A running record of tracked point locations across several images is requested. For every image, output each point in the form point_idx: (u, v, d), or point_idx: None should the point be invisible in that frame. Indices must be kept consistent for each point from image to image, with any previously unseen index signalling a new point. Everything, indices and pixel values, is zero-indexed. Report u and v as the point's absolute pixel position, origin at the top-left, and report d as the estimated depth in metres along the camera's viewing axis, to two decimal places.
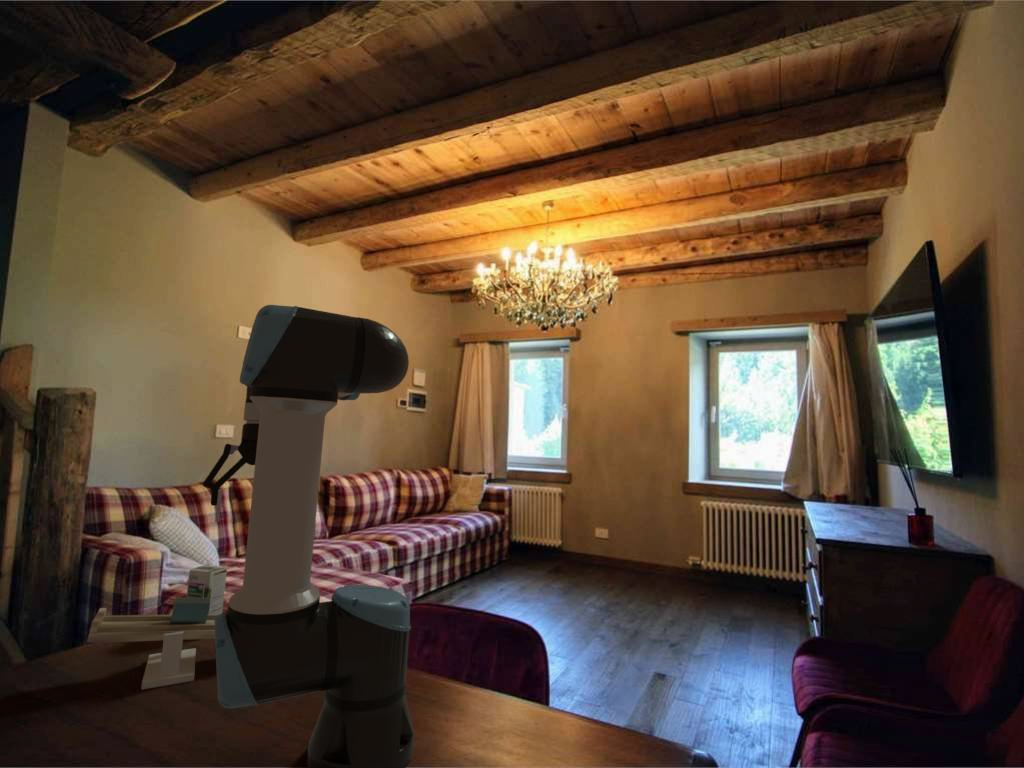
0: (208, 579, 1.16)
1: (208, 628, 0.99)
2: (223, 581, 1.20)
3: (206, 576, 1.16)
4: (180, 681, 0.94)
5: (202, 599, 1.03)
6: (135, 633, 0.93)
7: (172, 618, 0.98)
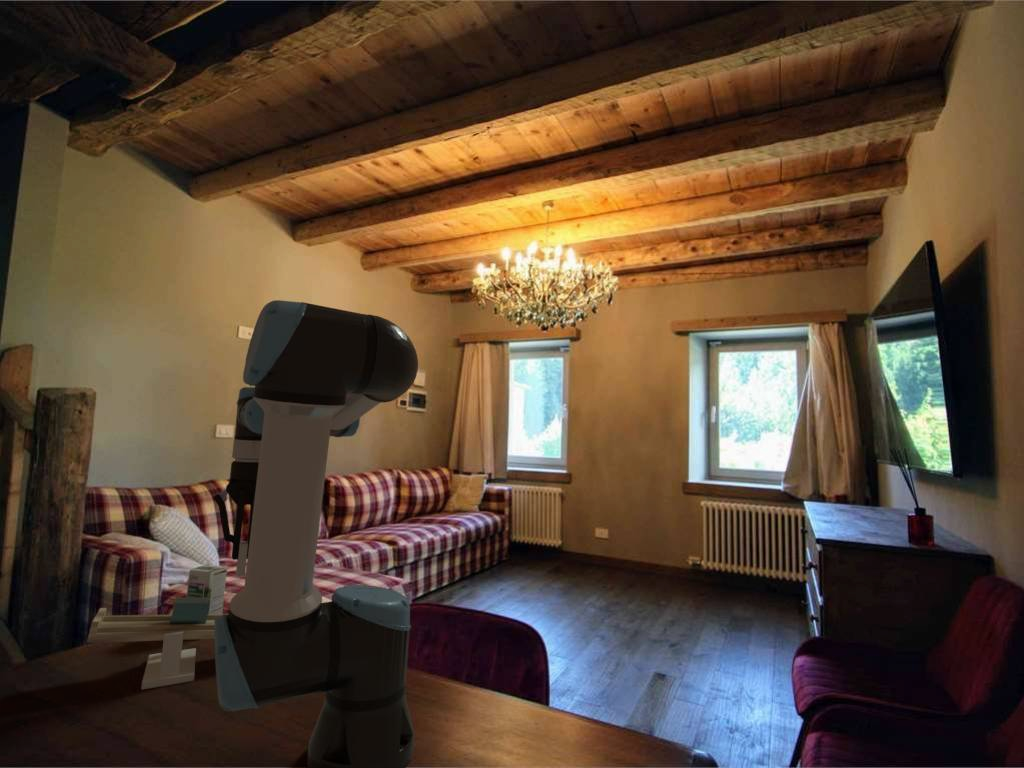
0: (208, 579, 1.16)
1: (208, 628, 0.99)
2: (223, 581, 1.20)
3: (206, 576, 1.16)
4: (180, 681, 0.94)
5: (202, 599, 1.03)
6: (135, 633, 0.93)
7: (172, 618, 0.98)
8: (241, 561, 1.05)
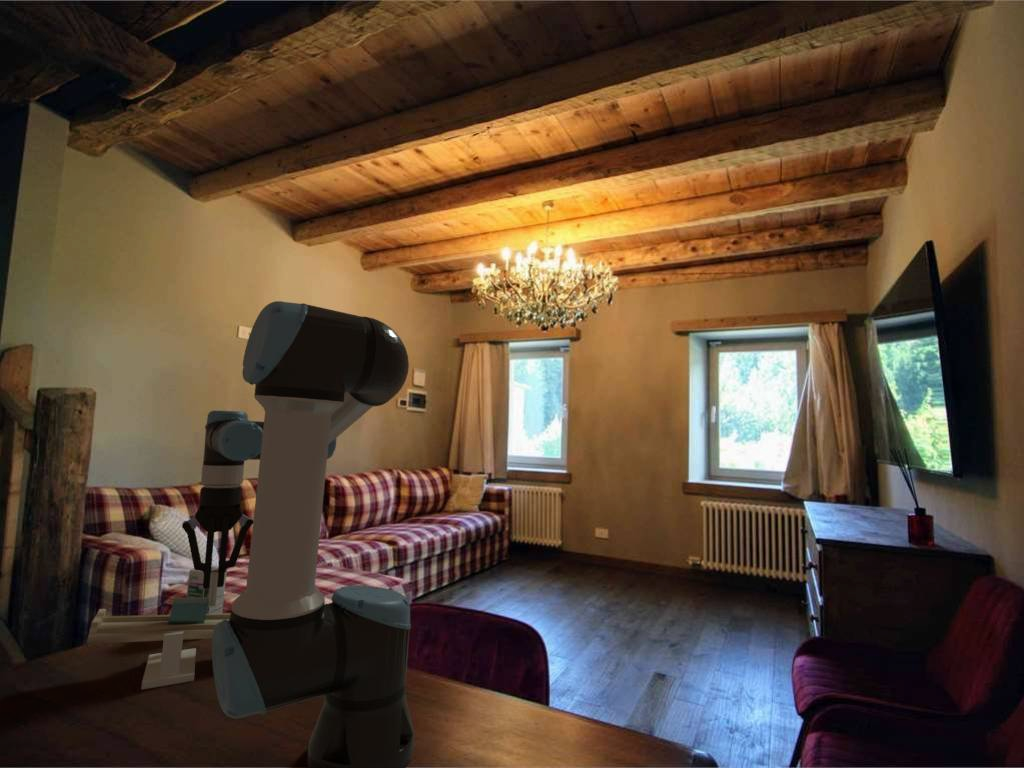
0: None
1: (208, 628, 0.99)
2: None
3: None
4: (180, 681, 0.94)
5: (200, 599, 1.02)
6: (135, 634, 0.93)
7: (170, 618, 0.98)
8: (211, 590, 1.02)
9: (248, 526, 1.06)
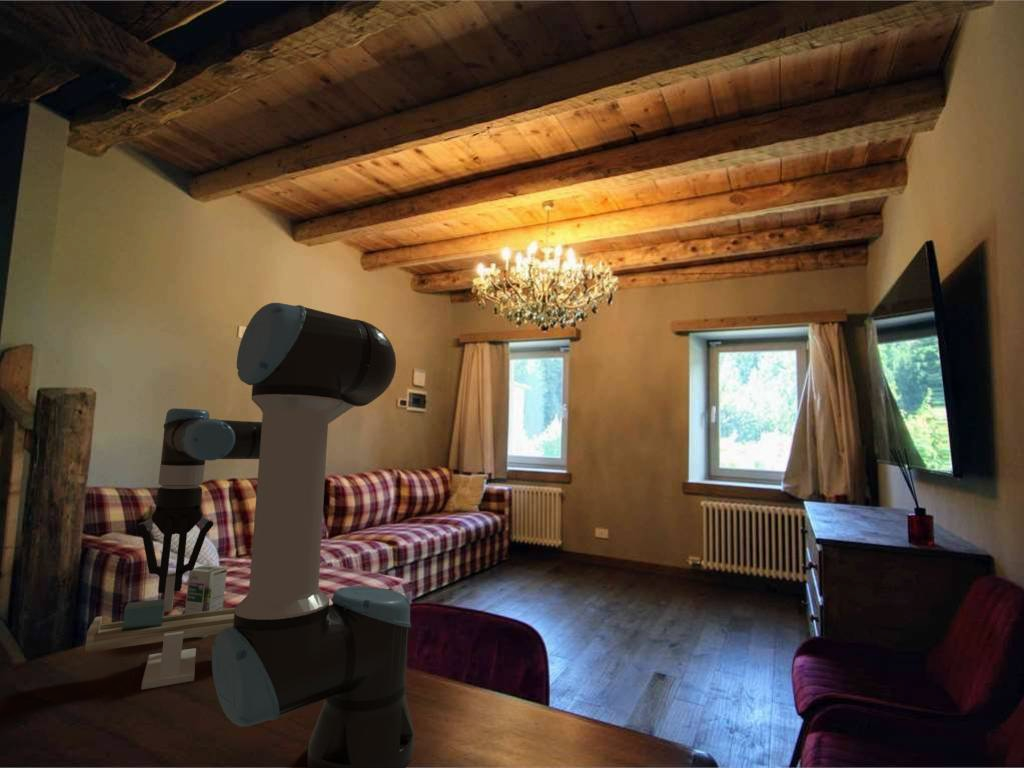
0: (208, 579, 1.16)
1: (207, 625, 0.99)
2: (223, 581, 1.20)
3: (206, 576, 1.16)
4: (180, 681, 0.94)
5: (156, 601, 0.99)
6: (133, 638, 0.93)
7: (124, 624, 0.94)
8: (168, 595, 0.98)
9: (208, 528, 1.03)
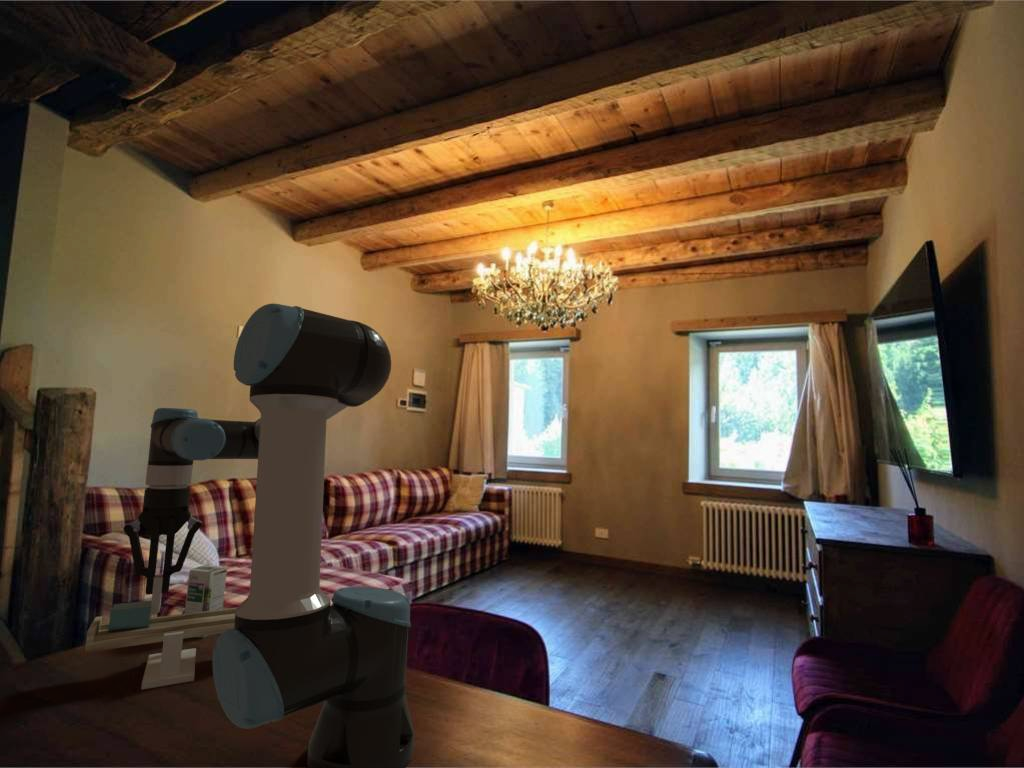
0: (208, 579, 1.16)
1: (207, 625, 0.99)
2: (223, 581, 1.20)
3: (206, 576, 1.16)
4: (180, 681, 0.94)
5: (143, 603, 0.98)
6: (133, 638, 0.93)
7: (110, 626, 0.93)
8: (155, 596, 0.97)
9: (196, 529, 1.02)
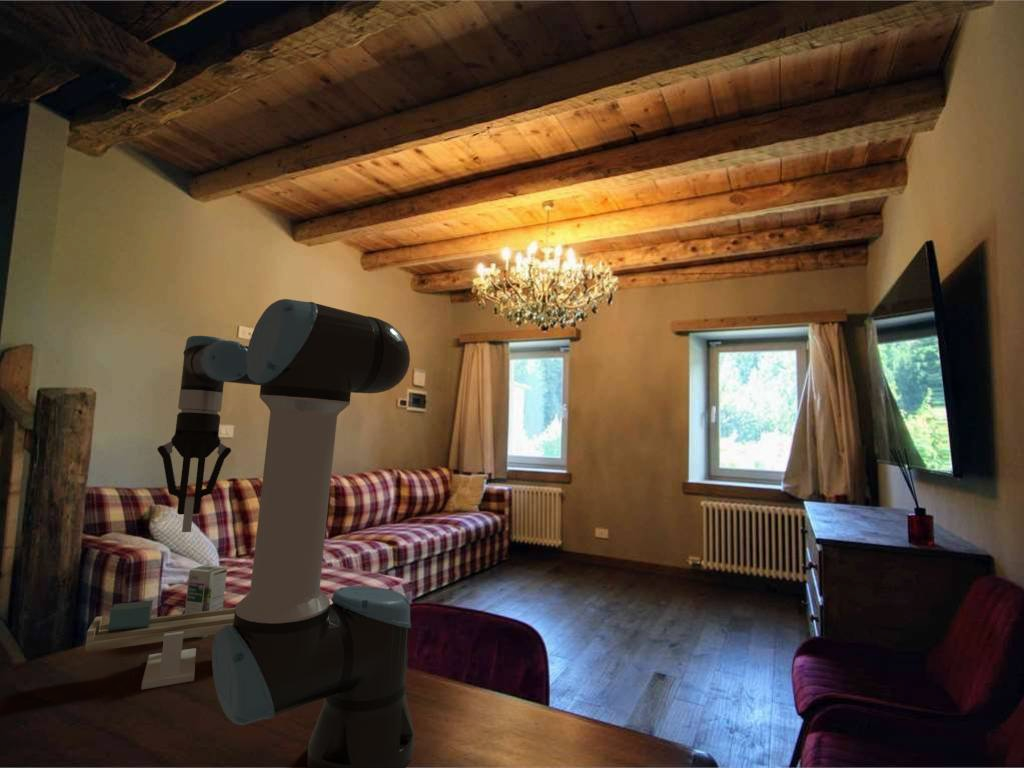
0: (208, 579, 1.16)
1: (207, 625, 0.99)
2: (223, 581, 1.20)
3: (206, 576, 1.16)
4: (180, 681, 0.94)
5: (143, 603, 0.98)
6: (133, 638, 0.93)
7: (110, 626, 0.93)
8: (187, 516, 1.01)
9: (226, 454, 1.05)
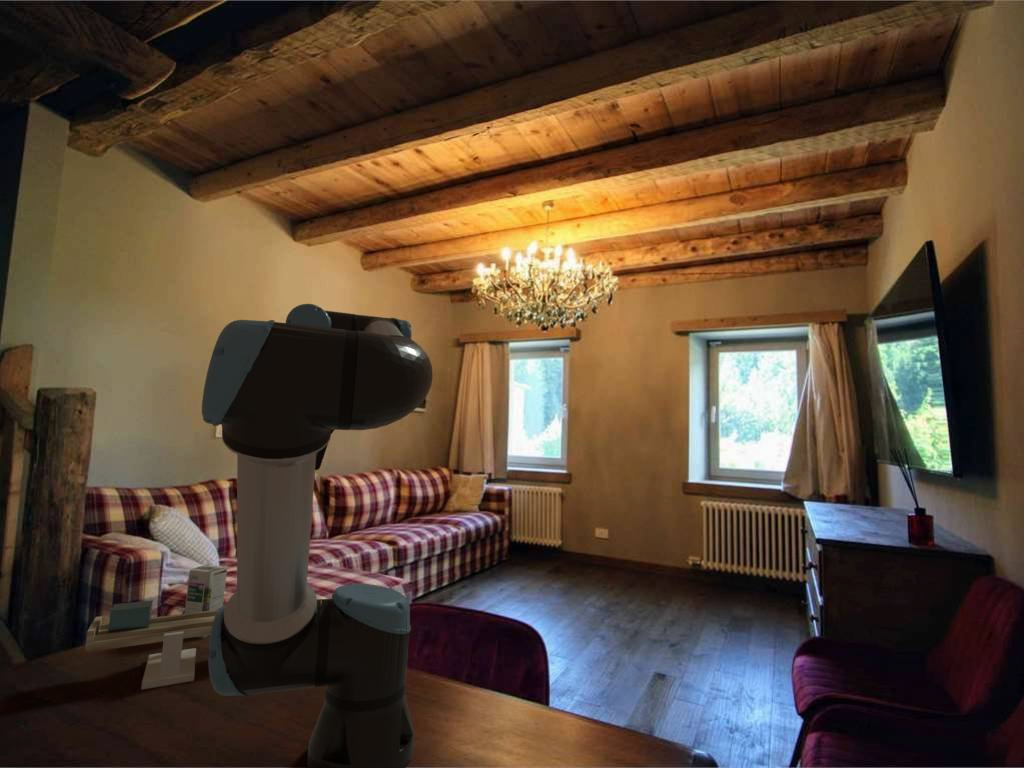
0: (208, 579, 1.16)
1: (207, 625, 0.99)
2: (223, 581, 1.20)
3: (206, 576, 1.16)
4: (180, 681, 0.94)
5: (143, 603, 0.98)
6: (133, 638, 0.93)
7: (110, 626, 0.93)
8: None
9: (332, 429, 1.03)
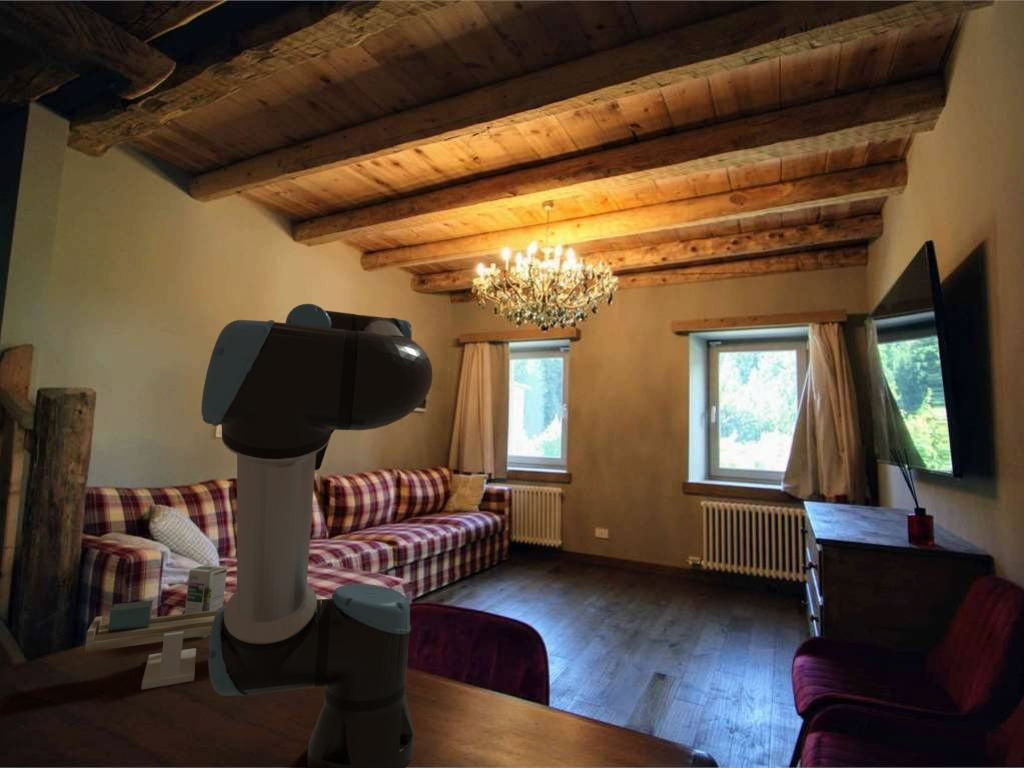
0: (208, 579, 1.16)
1: (207, 625, 0.99)
2: (223, 581, 1.20)
3: (206, 576, 1.16)
4: (180, 681, 0.94)
5: (143, 603, 0.98)
6: (133, 638, 0.93)
7: (110, 626, 0.93)
8: None
9: (332, 429, 1.03)
